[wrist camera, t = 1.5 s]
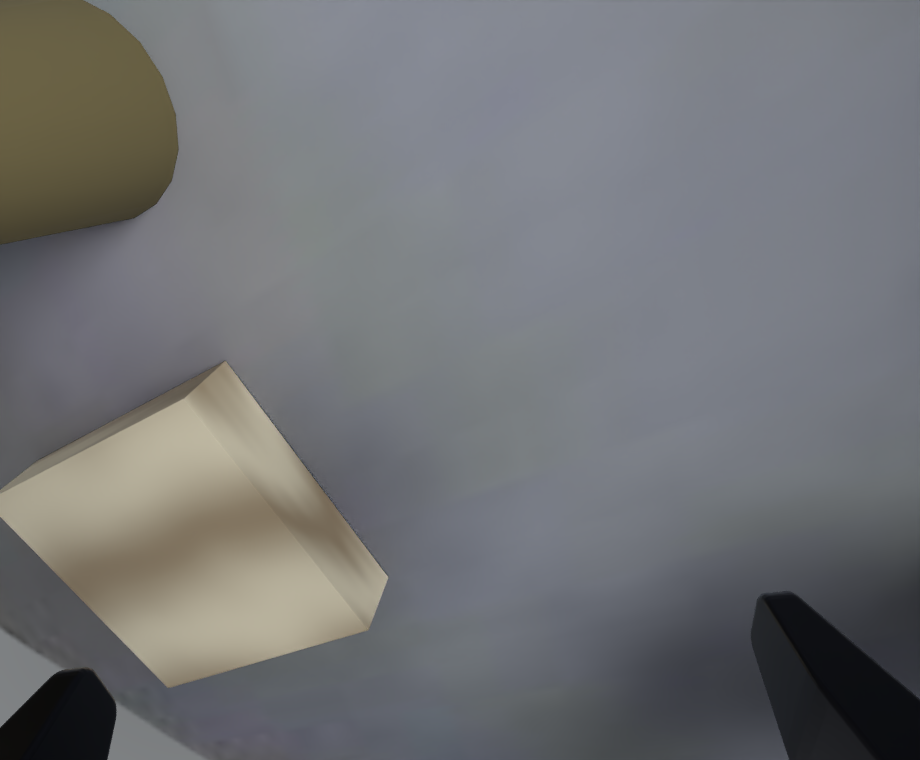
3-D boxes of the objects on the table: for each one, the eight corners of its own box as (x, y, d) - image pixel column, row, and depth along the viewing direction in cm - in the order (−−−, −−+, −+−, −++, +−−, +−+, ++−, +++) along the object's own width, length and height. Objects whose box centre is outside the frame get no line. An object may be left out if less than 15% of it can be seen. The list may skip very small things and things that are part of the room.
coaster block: (388, 577, 25) (368, 629, 23) (200, 637, 29) (167, 688, 27) (225, 360, 22) (184, 398, 20) (37, 460, 26) (-15, 501, 23)
